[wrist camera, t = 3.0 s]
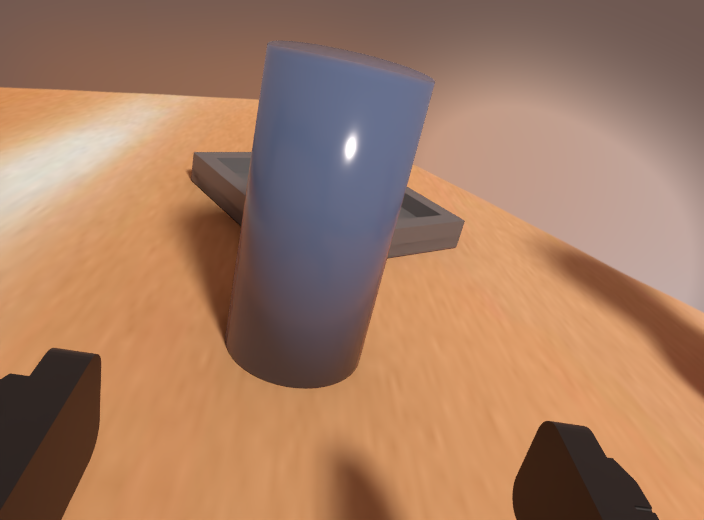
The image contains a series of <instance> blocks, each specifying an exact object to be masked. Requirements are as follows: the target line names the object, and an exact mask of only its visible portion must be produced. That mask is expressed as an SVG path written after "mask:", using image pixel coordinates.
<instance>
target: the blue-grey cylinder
mask: <svg viewBox="0 0 704 520" xmlns="http://www.w3.org/2000/svg"><path fill="white" fill-rule="evenodd" d="M434 84H435V81H434V80H433V79H432V78H430V77H429V76H427V75H425V74H423V73H421V72H418V71H416V70H413V69H411V68H408V67H405V66H402V65H399V64H397V63H393V62H390V61H387V60H383V59H380V58H376V57H372V56H369V55H365V54H361V53H356V52H352V51H348V50H343V49H338V48H333V47H328V46H322V45H316V44H310V43H303V42H293V41H272V42H269V43H268V44H267V51H266V58H265V64H264V71H263V78H262V85H261V93H260V99H259V106H258V113H257V120H256V127H255V134H254V141H253V148H252V155H251V162H250V169H249V175H248V182H247V189H246V196H245V203H244V210H243V217H242V224H241V231H240V238H239V245H238V252H237V259H236V266H235V273H234V280H233V287H232V294H231V301H230V308H229V315H228V322H227V329H226V336H225V342H226V347H227V349H228V352H229V354H230V355H231V357H232V358H233V359H234V360H235V362H236V363H237V364H238V365H240V366H241V367H242V368H243V369H244V370H246V371H247V372H249V373H250V374H252V375H254V376H256V377H258V378H260V379H262V380H265V381H267V382H270V383H274V384H277V385H281V386H286V387H293V388H319V387H325V386H329V385H333V384H336V383H338V382H340V381H342V380H344V379H346V378H347V377H349V376H350V375H351V374H352V373H353V372H354V371H355V369H356V368H357V366H358V363H359V360H360V356H361V353H362V349H363V345H364V342H365V338H366V334H367V331H368V327H369V323H370V320H371V316H372V312H373V308H374V305H375V301H376V297H377V294H378V290H379V286H380V283H381V279H382V275H383V272H384V268H385V264H386V261H387V257H388V253H389V250H390V246H391V242H392V239H393V235H394V231H395V227H396V224H397V220H398V216H399V213H400V209H401V205H402V202H403V198H404V194H405V191H406V187H407V183H408V180H409V176H410V172H411V169H412V165H413V161H414V158H415V154H416V150H417V146H418V142H419V139H420V135H421V132H422V128H423V124H424V120H425V117H426V113H427V110H428V106H429V102H430V99H431V95H432V91H433V87H434Z"/></svg>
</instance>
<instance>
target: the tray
mask: <svg viewBox="0 0 704 520" xmlns="http://www.w3.org/2000/svg"><path fill="white" fill-rule="evenodd" d="M251 155H252V152H194V156H193V166H192V176H191V180H192V181H193V182H194V183H195V184H196V185H197V186H198V187H199V188H200V189H201V190H203V191H204V192H205V193H206V194H207V195H208V196H209V197H210V198H211V199H212V200H213V201H214V202H216V203H217V204H218V205H219V206H220V207H221V208H222V209H223V210H224V211H225V212H226V213H228V214H229V215H230V216H231V217H232V218H233V219H234V220H235V221H236V222H237V223H238V224H239V225H241V224H242V217H243V210H244V203H245V196H246V189H247V182H248V175H249V169H250V162H251ZM464 222H465V221H464V220H462V219H461V218H459V217H457V216H456V215H454V214H452V213H451V212H449V211H447V210H446V209H444V208H442V207H440V206H439V205H437V204H435V203H434V202H432V201H430V200H429V199H427V198H425V197H424V196H422V195H420V194H418V193H417V192H415V191H413V190H412V189H410V188H408V187H406V191H405V194H404V198H403V202H402V205H401V209H400V213H399V216H398V220H397V224H396V227H395V231H394V235H393V239H392V242H391V246H390V250H389V253H388V257H387V258H391V257H397V256H404V255H410V254H417V253H423V252H429V251H436V250H442V249H449V248H455V247H456V246H457V243H458V240H459V237H460V234H461V231H462V228H463V225H464Z"/></svg>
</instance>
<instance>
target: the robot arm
mask: <svg viewBox="0 0 704 520" xmlns="http://www.w3.org/2000/svg"><path fill="white" fill-rule="evenodd" d="M100 388H101V358H100V356H99V355H98V354H93V353H86V352H79V351H72V350H65V349H58V348H51V349H50V350H49V351H48V352H47V353H46V354H45V355H44V357H43V358H42V360H41V361H40V362H39V364H38V365H37V366H36V368H35V369H34V371H33V372H32V373H31V375H30V376H24V375H17V374H8V375H7V376H5V377H4V378H2V379H0V520H61V519H62V517H63V515H64V513H65V511H66V508H67V506H68V504H69V502H70V500H71V498H72V496H73V494H74V492H75V490H76V488H77V486H78V484H79V482H80V479H81V477H82V475H83V473H84V471H85V469H86V467H87V465H88V463H89V461H90V459H91V456H92V453H93V450H94V447H95V444H96V440H97V436H98V430H99V421H100ZM513 508H514V513H515V516H516V519H517V520H659V518H658V517H657V515H656V514H655V513H652V507H651V505H650V504H649V502H648V500H647V499H646V497H645V495H644V494H643V492H642V490H641V489H640V487H639V485H638V484H637V482H636V481H635V480H634V479H633V478H632V477H631V476H630V475H629V474H628V473H627V472H626V471H625V470H624V469H623V468H622V467H621V466H620V465H619V464H618V463H617V462H616V461H615V460H614V459H613V458H607V457H606V455H605V453H604V452H603V450H602V448H601V446H600V445H599V443H598V441H597V440H596V438H595V436H594V434H593V433H592V431H591V430H590V429H589V428H587V427H585V426H580V425H573V424H566V423H559V422H552V421H545V422H543V423H542V424H541V426H540V427H539V429H538V431H537V433H536V435H535V437H534V439H533V441H532V444H531V446H530V448H529V450H528V452H527V455H526V457H525V459H524V461H523V463H522V465H521V468H520V470H519V472H518V474H517V476H516V479H515V482H514V486H513Z"/></svg>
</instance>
